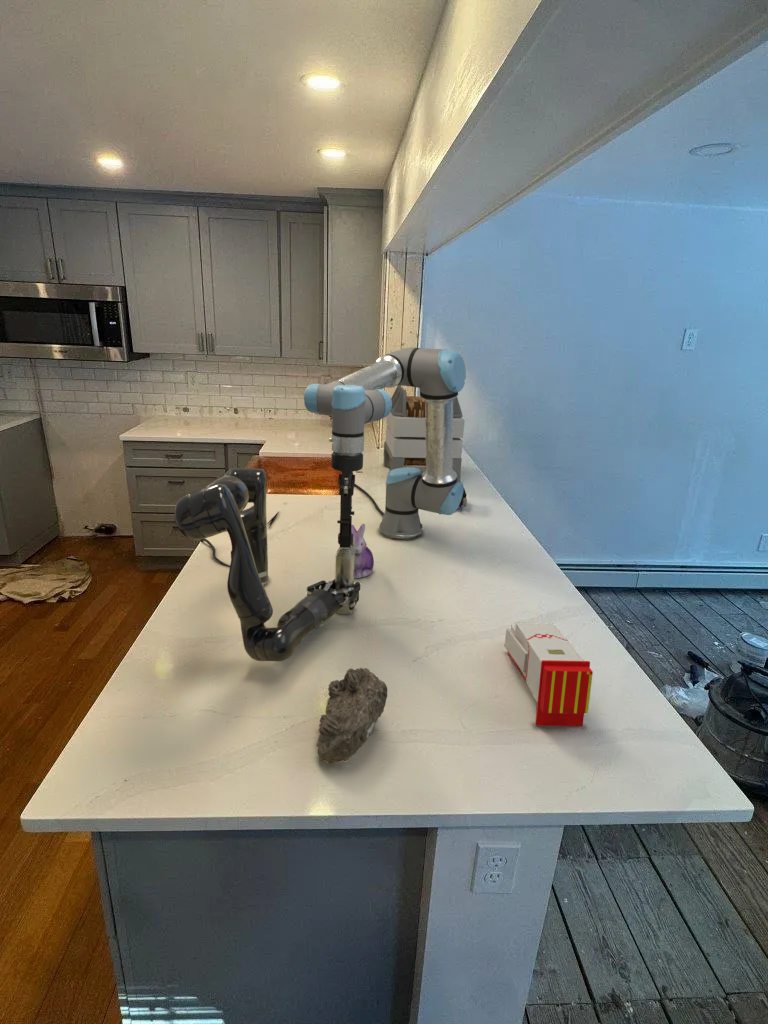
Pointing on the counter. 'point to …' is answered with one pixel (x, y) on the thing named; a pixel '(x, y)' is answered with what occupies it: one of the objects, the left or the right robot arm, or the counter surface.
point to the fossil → (350, 714)
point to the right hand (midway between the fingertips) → (345, 543)
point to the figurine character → (463, 500)
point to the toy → (551, 672)
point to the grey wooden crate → (415, 432)
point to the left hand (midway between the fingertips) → (349, 582)
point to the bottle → (344, 573)
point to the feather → (272, 520)
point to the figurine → (361, 553)
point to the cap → (339, 538)
